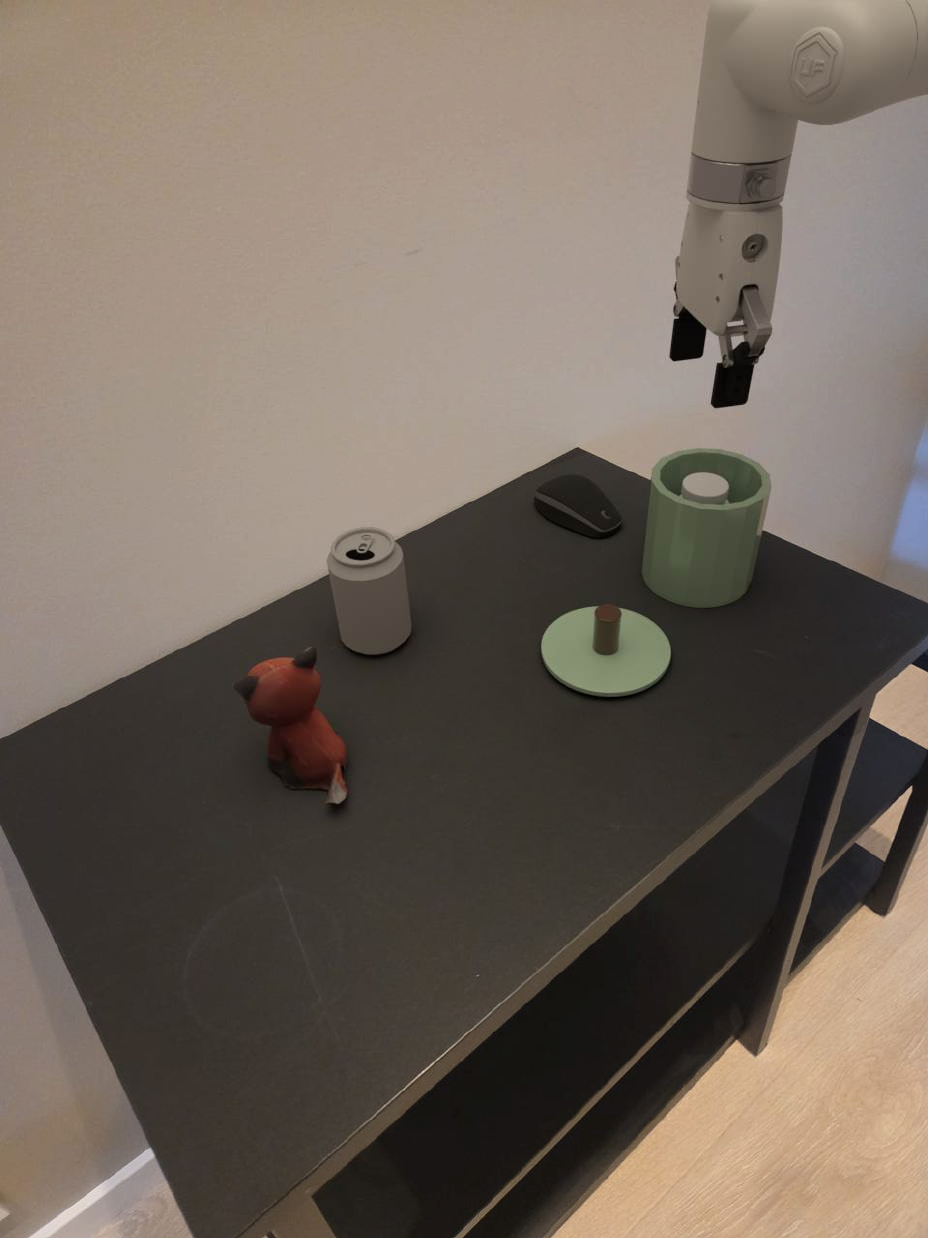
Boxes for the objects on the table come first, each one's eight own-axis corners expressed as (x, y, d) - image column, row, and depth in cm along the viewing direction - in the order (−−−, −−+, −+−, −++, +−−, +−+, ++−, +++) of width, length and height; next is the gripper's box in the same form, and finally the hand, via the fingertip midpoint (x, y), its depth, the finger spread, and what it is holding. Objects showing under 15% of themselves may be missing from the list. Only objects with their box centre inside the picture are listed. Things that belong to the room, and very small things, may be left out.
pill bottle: (657, 579, 95) (668, 493, 88) (671, 548, 100) (682, 463, 92) (714, 591, 93) (730, 504, 86) (725, 559, 98) (741, 473, 90)
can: (331, 655, 89) (312, 562, 82) (355, 609, 95) (339, 517, 87) (400, 664, 88) (387, 570, 80) (420, 617, 93) (410, 524, 86)
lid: (642, 605, 93) (646, 563, 89) (690, 687, 83) (697, 643, 80) (526, 626, 91) (526, 583, 88) (562, 712, 82) (563, 668, 78)
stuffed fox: (312, 836, 72) (286, 740, 65) (244, 761, 79) (213, 666, 71) (384, 787, 76) (368, 690, 68) (313, 718, 83) (291, 623, 75)
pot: (722, 536, 102) (738, 441, 94) (769, 597, 93) (792, 498, 85) (626, 552, 100) (635, 457, 92) (665, 616, 91) (678, 517, 83)
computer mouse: (594, 546, 101) (596, 518, 99) (521, 506, 109) (521, 478, 106) (634, 522, 105) (636, 494, 102) (560, 484, 112) (561, 457, 109)
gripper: (837, 203, 62) (788, 419, 73) (735, 147, 75) (707, 338, 86) (739, 214, 61) (704, 431, 73) (652, 155, 74) (634, 347, 85)
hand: (706, 380), depth 79 cm, fingers open, 9 cm apart
